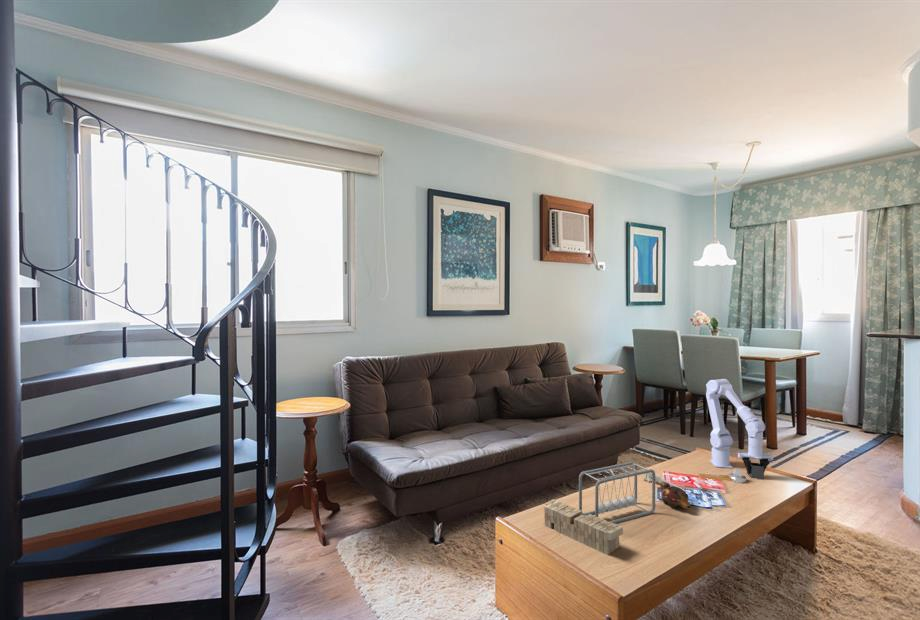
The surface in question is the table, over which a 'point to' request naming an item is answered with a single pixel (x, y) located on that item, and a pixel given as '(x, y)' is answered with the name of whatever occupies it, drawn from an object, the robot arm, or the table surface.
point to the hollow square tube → (756, 471)
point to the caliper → (658, 480)
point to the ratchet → (735, 476)
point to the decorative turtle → (674, 496)
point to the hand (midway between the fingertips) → (755, 473)
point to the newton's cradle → (623, 501)
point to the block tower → (582, 527)
